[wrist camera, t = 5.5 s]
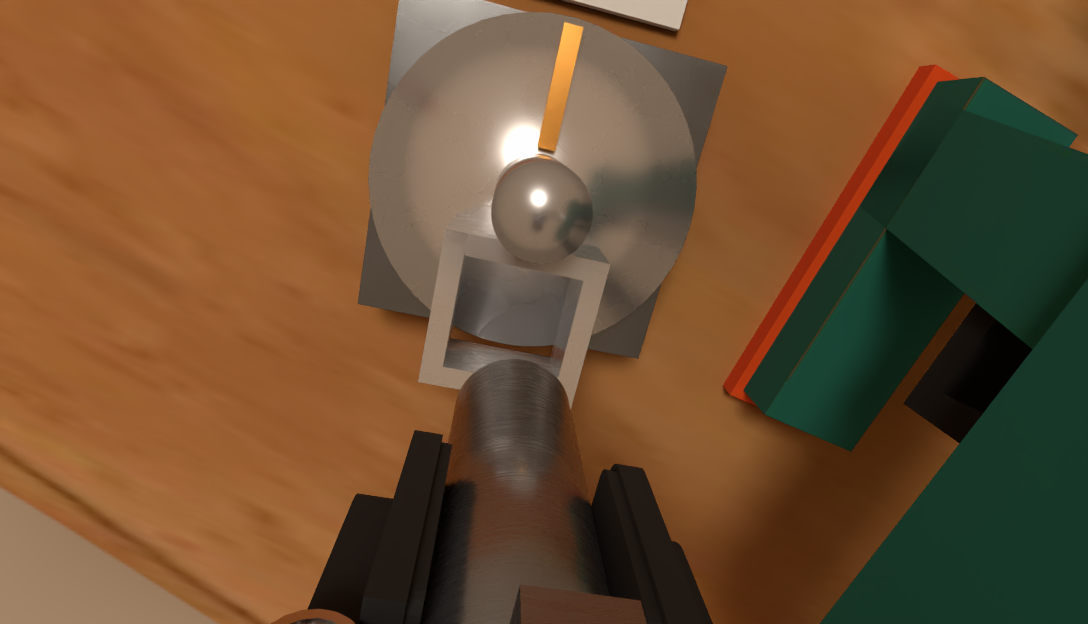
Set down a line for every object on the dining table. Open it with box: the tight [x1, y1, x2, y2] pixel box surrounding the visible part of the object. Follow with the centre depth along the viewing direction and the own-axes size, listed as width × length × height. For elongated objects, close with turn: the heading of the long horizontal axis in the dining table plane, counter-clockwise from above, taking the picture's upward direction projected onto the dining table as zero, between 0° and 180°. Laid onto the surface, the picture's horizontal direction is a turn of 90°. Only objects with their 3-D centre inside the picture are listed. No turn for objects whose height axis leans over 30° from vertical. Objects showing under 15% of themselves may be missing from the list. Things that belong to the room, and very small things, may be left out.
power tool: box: [723, 65, 1088, 624], centre depth 22 cm, size 32×7×20 cm, turn 155°
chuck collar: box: [368, 12, 696, 409], centre depth 21 cm, size 13×14×6 cm
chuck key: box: [420, 359, 647, 624], centre depth 10 cm, size 3×6×10 cm, turn 167°
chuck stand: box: [358, 0, 727, 359], centre depth 26 cm, size 13×13×4 cm
